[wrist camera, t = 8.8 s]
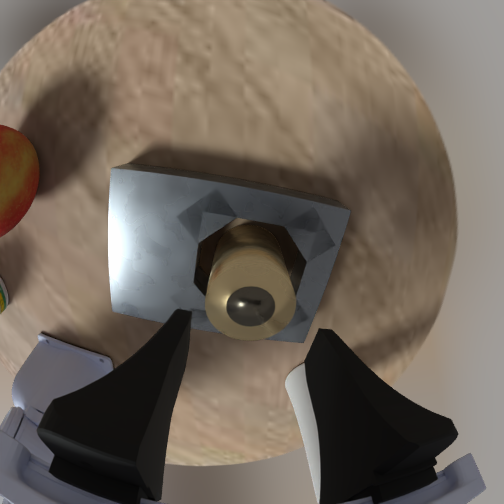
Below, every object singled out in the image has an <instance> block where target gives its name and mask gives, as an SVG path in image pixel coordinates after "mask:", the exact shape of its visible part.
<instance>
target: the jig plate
mask: <svg viewBox="0 0 504 504" xmlns="http://www.w3.org/2000/svg"><path fill="white" fill-rule="evenodd" d="M350 213H351V210H350V209H348V208H347V207H346V206H344V205H343V204H341V203H340V202H339V201H337V200H333V199H329V198H325V197H321V196H317V195H313V194H308V193H304V192H300V191H295V190H291V189H286V188H282V187H277V186H272V185H267V184H262V183H257V182H252V181H247V180H241V179H236V178H230V177H225V176H219V175H213V174H206V173H200V172H194V171H187V170H180V169H173V168H165V167H157V166H149V165H140V164H130V163H127V164H124V165H120V166H117V167H113V168H111V179H110V194H109V221H108V247H109V275H110V290H111V302H112V311H113V312H117V313H121V314H125V315H129V316H134V317H138V318H142V319H147V320H152V321H156V322H161V323H166V321H167V320H168V319H169V318H170V316H171V315H172V314H173V312H174V311H175V310H176V309H183V310H188V311H192V320H191V328H192V329H198V330H204V331H210V332H216V333H221V332H220V331H219V330H217V329H216V328H215V327H214V326H213V325H212V323H211V322H210V320H209V319H208V316H207V314H206V310H205V298H206V293H207V288H208V283H209V277H208V276H207V274H206V273H205V272H204V271H203V270H202V268H201V267H200V266H199V261H200V253H201V246H202V240H204V239H205V238H207V237H208V236H210V235H211V234H213V233H214V232H216V231H217V230H219V229H220V228H222V227H223V226H225V225H226V224H228V223H229V222H231V221H232V220H234V219H235V218H242V219H248V220H253V221H259V222H264V223H269V224H275V225H280V226H284V227H285V228H286V230H287V231H288V233H289V234H290V236H291V238H292V239H293V241H294V242H295V244H296V245H297V247H298V252H297V255H296V259H295V262H294V266H293V269H292V273H291V276H290V280H291V283H292V286H293V289H294V292H295V296H296V309H295V313H294V315H293V317H292V319H291V321H290V322H289V323H288V325H287V326H286V327H285V328H284V329H283V330H281V331H280V332H278V333H277V334H275V335H273V336H271V337H268V338H265V339H268V340H277V341H287V342H298V343H304V341H305V339H306V336H307V334H308V331H309V329H310V326H311V324H312V321H313V319H314V316H315V314H316V311H317V309H318V306H319V304H320V301H321V298H322V296H323V293H324V290H325V288H326V285H327V282H328V279H329V277H330V274H331V271H332V268H333V265H334V262H335V260H336V257H337V254H338V251H339V248H340V245H341V242H342V238H343V235H344V232H345V229H346V226H347V223H348V219H349V216H350Z"/></svg>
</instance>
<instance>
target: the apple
mask: <svg viewBox="0 0 504 504" xmlns="http://www.w3.org/2000/svg"><path fill="white" fill-rule="evenodd" d="M39 173H40V172H39V161H38V157H37V154H36V151H35V149H34V147H33V145H32V144H31V142H30V141H29V139H28V138H26V137H25V136H24V135H23V134H22V133H20V132H19V131H17V130H15V129H13V128H10V127H7V126H4V125H0V237H2V236H3V235H5V234H6V233H8V232H9V231H10V230H12V229H13V228H14V227H15V226H16V225H17V224H18V223H19V222H20V221H21V219H22V218H23V217H24V215H25V214H26V213H27V211H28V209H29V208H30V206H31V204H32V202H33V200H34V197H35V195H36V192H37V188H38V183H39Z"/></svg>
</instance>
